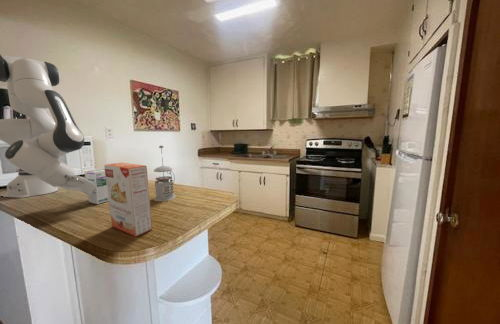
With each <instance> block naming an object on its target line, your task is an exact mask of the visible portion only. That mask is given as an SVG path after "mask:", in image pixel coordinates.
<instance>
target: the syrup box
mask: <svg viewBox="0 0 500 324" xmlns="http://www.w3.org/2000/svg"><path fill="white" fill-rule="evenodd" d="M101 169H102V170H96V169H93V170H94V171H90V170H86V171H87V178H88V181H90V182H92V183H93V184H95V185H96V187H95V189H94V190H93V191H94V193H93V194H92V195H90V201H89V202H90V204H95V205H99V204H100V205H101V204H103V203H107V202H109V198H108V190H107V182H106V175H105V170H104V169H103V168H101Z"/></svg>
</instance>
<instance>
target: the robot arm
mask: <svg viewBox="0 0 500 324" xmlns="http://www.w3.org/2000/svg"><path fill="white" fill-rule="evenodd" d="M60 81H61V73H60V71H59V69H58V67H57V66H56V65H55V64H53V63H50V62H48V61H41V60H38V59H34V58H28V57H19V56H14V55H13V56H11V55H2V54H0V82H2V83H6V87H7V94H8V100H9V105H10V107H11V109H12V110H14V111H15V112H16V113H19V114H21V115H25V116H27V117H29V118H1V119H0V141H2V142H4V143H5V144H8V146H9V147H8V148H7V149H6V150H5V154H4V158H5V159H6V160H7V161H8V162H9V163H10V164H12V165H14V166H15V167H16V168H18V169H17V170H15V171H16V173H18V174H17V176H16V177H15V178H14V179H11V181H10V182H8V183H7V185H6V192H4V193H2V194H0V197H1V196H3V197H4V198H18V199H22V198H28V197H35V196H41V195H47V194H51V193H55V192H57V191H59V188H63V189H65V190H69V191H70V190H71V191H78V192H81V193H84V194H85V195H88V194H89V195H92V194H93V193H94V191H93V190H94V189H95V187H96V185H95V184H93V183H92V182H90V181H88V180H86V179H85V177H83V176H80V175H76V174H75V173H74V171H75V169H74V168H73V167H71V166H69V165H68V164H67V163H65V162H63V161H61V160H59V158H60V157H63V156H65V155H67V154H69V153H73V152H75V151H78V150H80V149H82V148H83V147H84V144H85V136H84V133H82V131H81V130H80V129H79V127H78V125H77V123H76V122H75V119H74V117H73V115H72V113H71V111H70V108H69V107H68V105H67V103H66V101H65V99H64V98H63V96H62V95H61V94H60V93H58V92H57V91H55V90H54V88H53V87H56V86H58V85H59V83H60ZM45 109H48V110H49V113H50V115H51V116H50V115H49V114H48V112H46V110H45Z"/></svg>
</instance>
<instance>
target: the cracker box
mask: <svg viewBox="0 0 500 324" xmlns="http://www.w3.org/2000/svg"><path fill="white" fill-rule="evenodd" d="M104 168H105V175H106V182H107V190H108V198H109V201H108V206H109V213H110V219H111V220H110V221H111V222H110V223H111V227H113V228H115V229H117V230H120V231H121V232H124V233H126V234H128V235H131V236H133V237H135V238H136V237H138V236H140V235H143V234H145V233H147V232H150V231H151V230H153V221H152V212H151V211H152V210H151V201H150V191H149V189H150V188H149V180H148V168H147V165H143V164H135V163H129V162H128V163H127V162H117V163H116V162H115V163H108V164H104Z"/></svg>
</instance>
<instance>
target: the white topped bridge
mask: <svg viewBox="0 0 500 324" xmlns="http://www.w3.org/2000/svg"><path fill="white" fill-rule="evenodd" d="M102 169H104V170H105V167H104V168H98V169H91V170H89V171H94V170H102ZM87 171H88V170H84V178H85V179H86V180H88V178H87ZM87 201H88V202H90V195H89V194H87Z"/></svg>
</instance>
